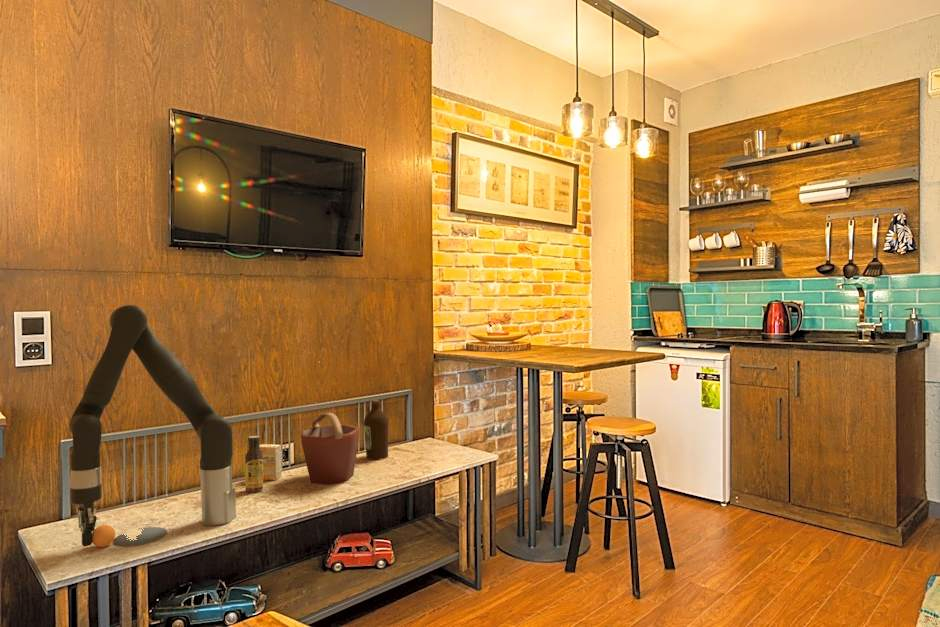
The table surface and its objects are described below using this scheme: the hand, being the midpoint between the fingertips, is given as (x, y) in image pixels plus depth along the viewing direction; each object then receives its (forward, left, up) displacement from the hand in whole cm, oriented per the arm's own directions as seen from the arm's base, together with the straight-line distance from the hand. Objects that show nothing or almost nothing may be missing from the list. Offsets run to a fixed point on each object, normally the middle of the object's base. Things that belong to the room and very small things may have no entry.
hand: (86, 545), depth 170 cm
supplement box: (-28, -67, -2) cm, 72 cm away
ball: (-3, -3, +1) cm, 4 cm away
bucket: (-53, -66, -2) cm, 84 cm away
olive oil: (-65, -96, -2) cm, 115 cm away
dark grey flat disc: (-10, -10, -2) cm, 14 cm away
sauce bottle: (-28, -52, -2) cm, 59 cm away
